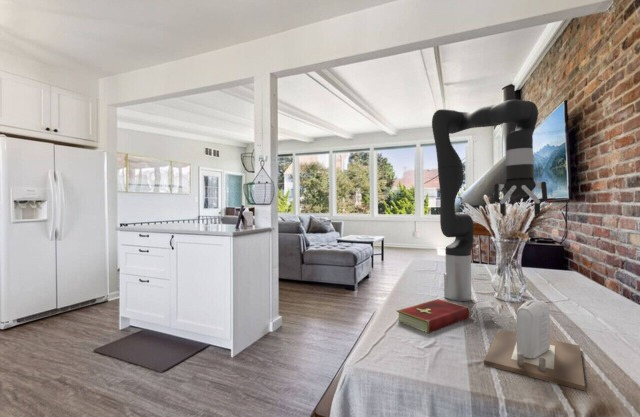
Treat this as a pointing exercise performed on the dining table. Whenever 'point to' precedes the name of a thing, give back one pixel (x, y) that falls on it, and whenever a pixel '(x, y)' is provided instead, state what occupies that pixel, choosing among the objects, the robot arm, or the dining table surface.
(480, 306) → the white arched piece
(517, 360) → the walnut dock
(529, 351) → the photo printer
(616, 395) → the dining table surface
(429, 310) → the hardcover book
